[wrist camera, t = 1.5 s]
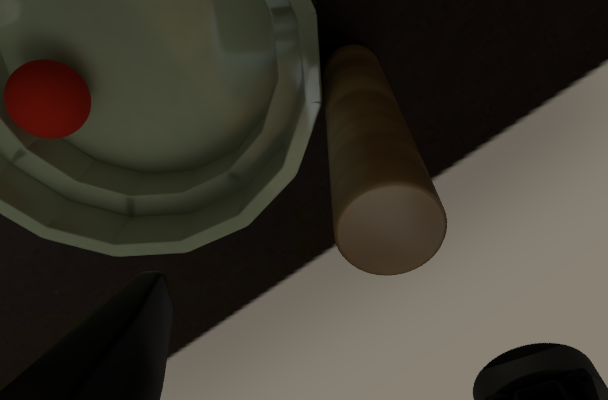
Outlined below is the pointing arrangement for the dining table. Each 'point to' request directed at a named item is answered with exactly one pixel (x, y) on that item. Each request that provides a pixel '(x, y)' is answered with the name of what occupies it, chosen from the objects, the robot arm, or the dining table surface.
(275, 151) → the bowl
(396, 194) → the stick
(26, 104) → the ball
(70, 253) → the dining table surface
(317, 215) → the dining table surface
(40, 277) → the dining table surface
